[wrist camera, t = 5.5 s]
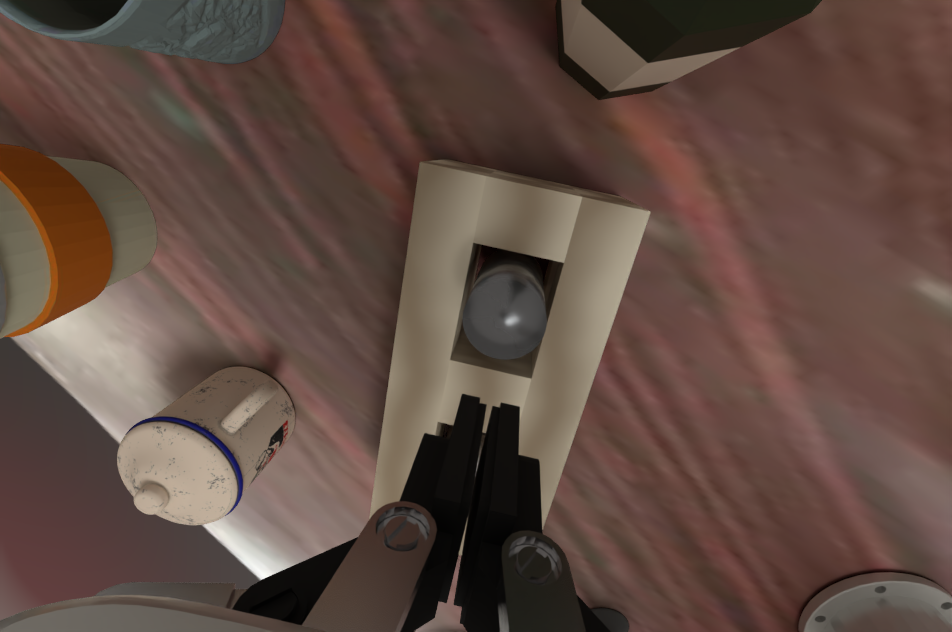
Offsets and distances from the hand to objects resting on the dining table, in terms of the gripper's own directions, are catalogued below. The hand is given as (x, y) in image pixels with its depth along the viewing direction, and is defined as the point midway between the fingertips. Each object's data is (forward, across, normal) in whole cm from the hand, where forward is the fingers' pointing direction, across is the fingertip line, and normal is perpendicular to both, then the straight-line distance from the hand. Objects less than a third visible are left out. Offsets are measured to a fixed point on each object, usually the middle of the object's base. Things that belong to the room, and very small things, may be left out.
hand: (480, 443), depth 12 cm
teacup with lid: (+22, +19, +17) cm, 33 cm away
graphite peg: (+17, 0, 0) cm, 17 cm away
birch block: (+21, 0, +7) cm, 22 cm away
